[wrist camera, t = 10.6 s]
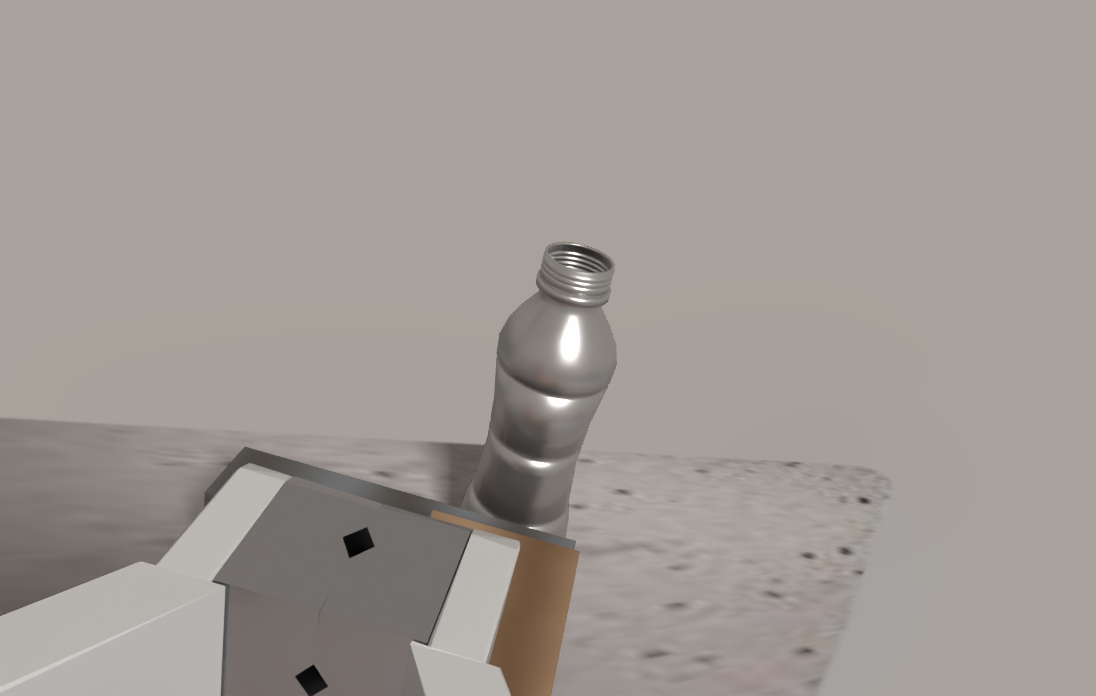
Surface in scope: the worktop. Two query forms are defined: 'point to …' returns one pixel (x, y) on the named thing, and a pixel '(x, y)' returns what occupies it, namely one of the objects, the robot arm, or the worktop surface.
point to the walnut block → (530, 611)
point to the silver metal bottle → (546, 391)
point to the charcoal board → (371, 493)
